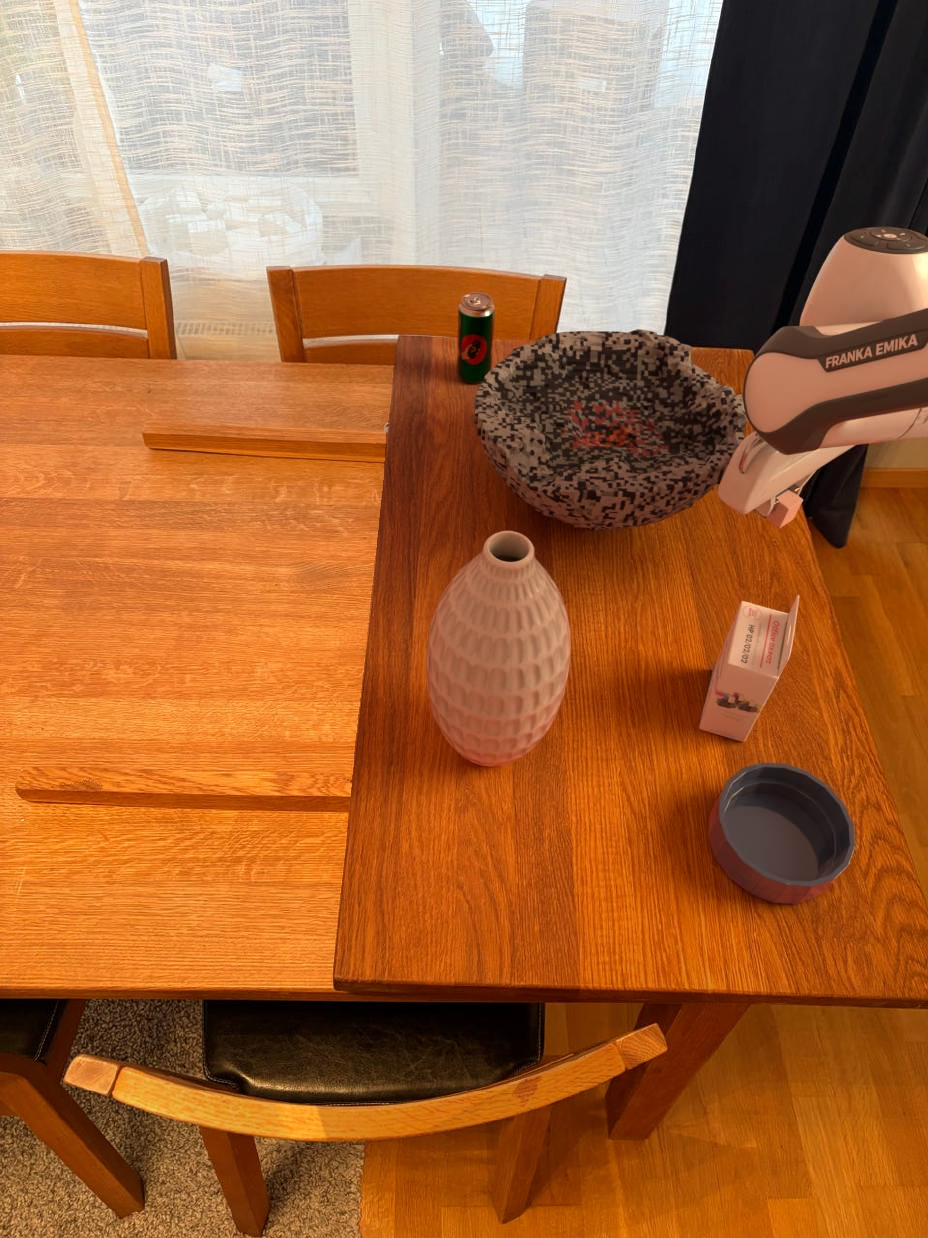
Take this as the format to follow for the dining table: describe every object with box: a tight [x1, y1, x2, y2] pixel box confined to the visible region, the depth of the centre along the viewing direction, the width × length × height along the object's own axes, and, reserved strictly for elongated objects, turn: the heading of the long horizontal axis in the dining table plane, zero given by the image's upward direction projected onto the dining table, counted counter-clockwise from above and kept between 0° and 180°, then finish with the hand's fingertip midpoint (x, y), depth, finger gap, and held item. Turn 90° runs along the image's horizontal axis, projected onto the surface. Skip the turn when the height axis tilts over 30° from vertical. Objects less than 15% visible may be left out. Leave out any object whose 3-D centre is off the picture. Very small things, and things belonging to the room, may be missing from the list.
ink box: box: [698, 594, 800, 743], centre depth 84 cm, size 8×5×15 cm, turn 160°
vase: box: [425, 530, 572, 768], centre depth 76 cm, size 13×13×28 cm
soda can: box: [456, 291, 496, 385], centre depth 121 cm, size 5×5×12 cm
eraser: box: [752, 488, 804, 529], centre depth 93 cm, size 5×3×3 cm, turn 38°
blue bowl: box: [707, 762, 856, 905], centre depth 79 cm, size 12×12×4 cm
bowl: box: [473, 328, 748, 532], centre depth 105 cm, size 31×31×15 cm
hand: (775, 503), depth 93 cm, fingers closed on eraser, 2 cm apart
